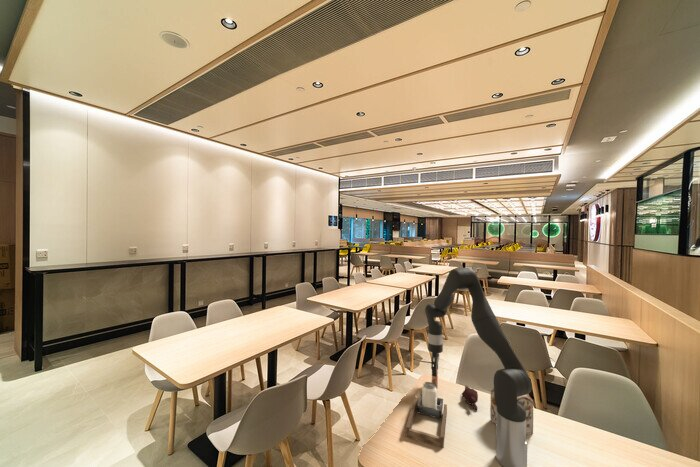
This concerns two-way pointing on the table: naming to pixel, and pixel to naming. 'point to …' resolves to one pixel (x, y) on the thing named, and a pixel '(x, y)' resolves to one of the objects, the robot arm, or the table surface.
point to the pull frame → (431, 411)
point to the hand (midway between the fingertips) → (435, 372)
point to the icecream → (470, 396)
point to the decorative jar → (523, 401)
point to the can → (429, 395)
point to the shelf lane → (421, 435)
